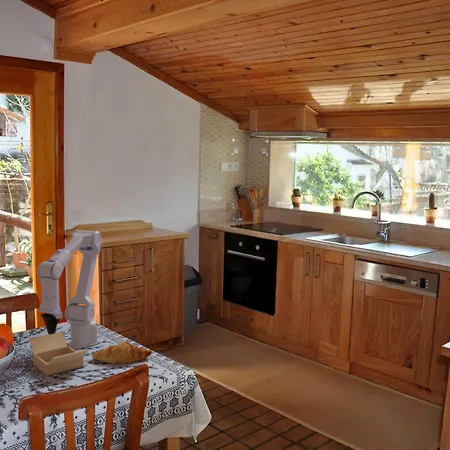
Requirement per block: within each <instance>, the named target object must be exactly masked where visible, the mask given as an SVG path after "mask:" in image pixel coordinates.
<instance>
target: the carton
mask: <svg viewBox="0 0 450 450" xmlns="http://www.w3.org/2000/svg"><path fill="white" fill-rule="evenodd" d="M74 352H78V350H77V349H74V348H72V347H71V346H69V345H67V346H65V347H61V348H57V349H52V350H48V351H44V352H39V353H35V354H32V360H33V361H32V365H33V366H34V367H35V368H36V369H38V370H39V371H40V372H41V373H43V374H44V376H46V377H50V376H53V375H58V374H60V373H65V372H70V371H72V370H76V369H80V368H84V367H85V365H84V364H85V363H84V357H82V358H78V359H74V360H70V361H66V362H62V363H58V364H54V365H50V366H48V364H49V362H50V361H51V360H52V358H53V357H57V356H61V355H65V354H69V353H74Z"/></svg>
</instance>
